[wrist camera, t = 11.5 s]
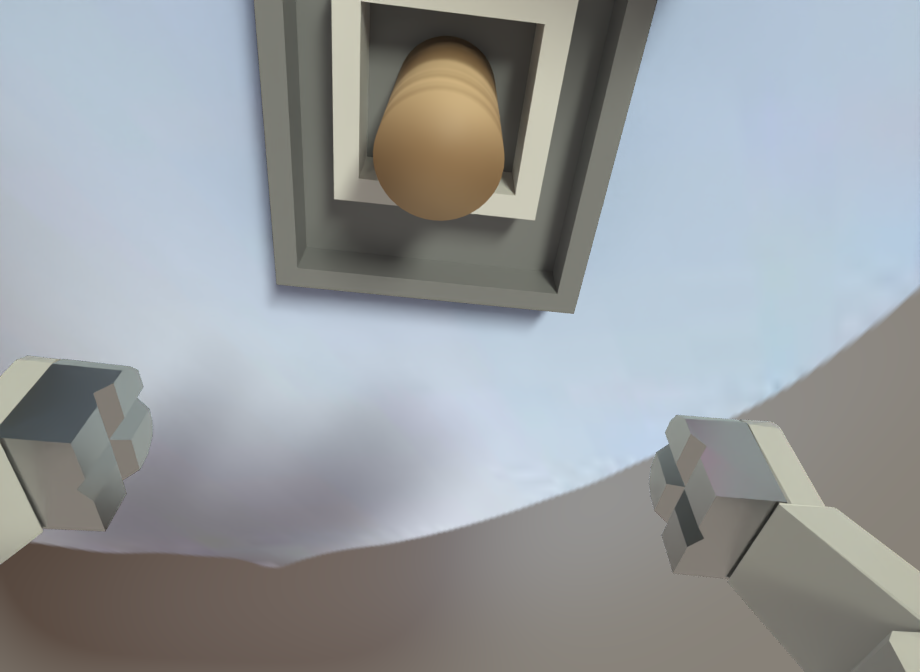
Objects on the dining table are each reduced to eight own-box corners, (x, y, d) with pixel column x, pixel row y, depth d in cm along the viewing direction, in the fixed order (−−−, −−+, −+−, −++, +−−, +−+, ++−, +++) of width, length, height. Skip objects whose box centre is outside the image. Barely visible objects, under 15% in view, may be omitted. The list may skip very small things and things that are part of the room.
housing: (262, -228, 20) (228, -245, 17) (676, -168, 21) (708, -176, 18) (291, 253, 31) (273, 290, 28) (565, 280, 32) (575, 319, 29)
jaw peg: (400, 29, 24) (374, 84, 17) (502, 42, 24) (514, 100, 18) (395, 132, 26) (371, 213, 20) (488, 142, 26) (494, 226, 20)
